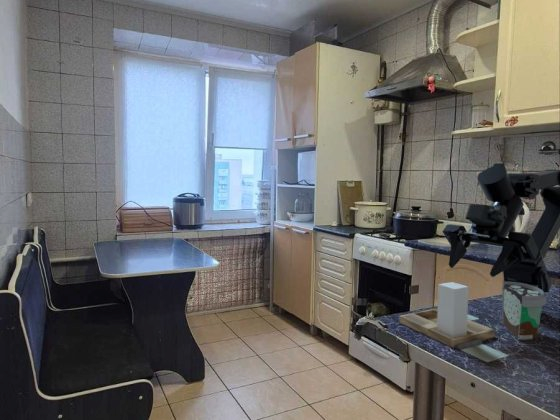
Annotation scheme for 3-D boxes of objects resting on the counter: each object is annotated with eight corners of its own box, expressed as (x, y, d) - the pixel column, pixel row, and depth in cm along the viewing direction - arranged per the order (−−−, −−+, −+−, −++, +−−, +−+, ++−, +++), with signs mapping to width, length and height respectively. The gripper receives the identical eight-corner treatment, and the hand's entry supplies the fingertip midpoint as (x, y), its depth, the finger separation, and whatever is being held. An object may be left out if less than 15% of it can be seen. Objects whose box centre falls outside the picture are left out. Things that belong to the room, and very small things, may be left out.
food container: (555, 348, 79) (558, 298, 78) (520, 345, 80) (523, 296, 80) (529, 325, 91) (532, 282, 90) (500, 323, 92) (502, 280, 92)
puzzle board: (456, 312, 100) (456, 304, 100) (548, 346, 80) (548, 336, 80) (398, 324, 92) (399, 315, 92) (485, 365, 72) (486, 354, 72)
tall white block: (450, 332, 86) (452, 282, 85) (466, 339, 82) (468, 286, 81) (436, 336, 84) (438, 284, 83) (452, 343, 80) (454, 289, 79)
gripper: (449, 189, 94) (416, 240, 89) (535, 192, 79) (501, 254, 73) (467, 221, 99) (437, 271, 94) (551, 230, 84) (520, 290, 78)
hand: (469, 270), depth 85 cm, fingers open, 9 cm apart
